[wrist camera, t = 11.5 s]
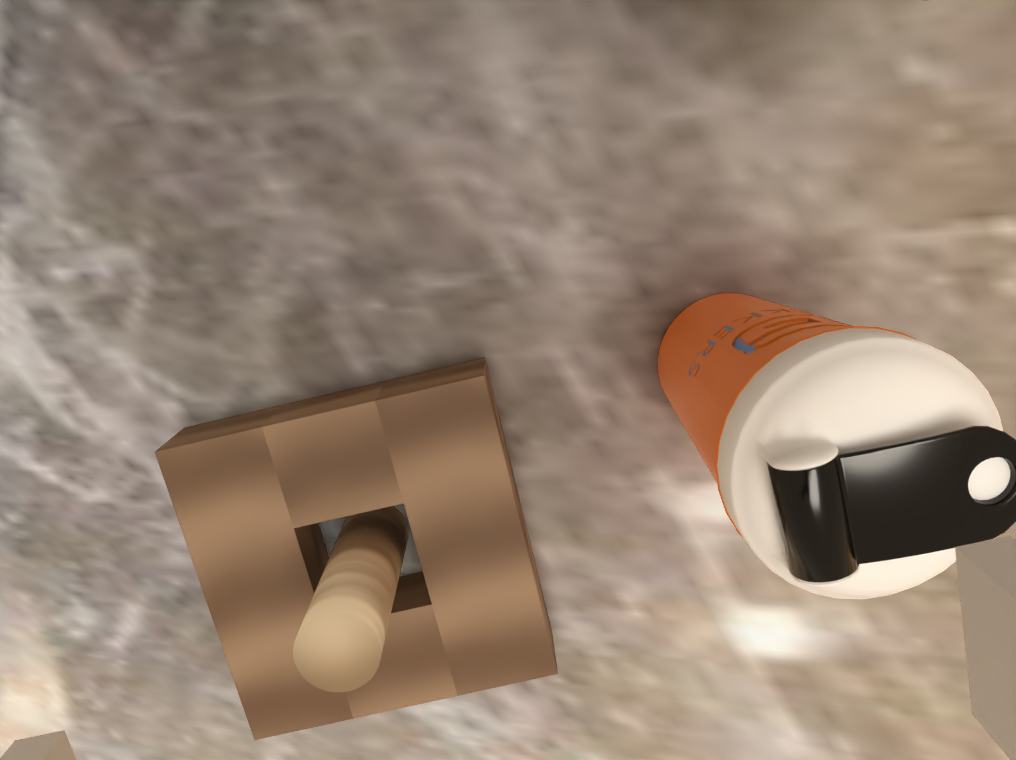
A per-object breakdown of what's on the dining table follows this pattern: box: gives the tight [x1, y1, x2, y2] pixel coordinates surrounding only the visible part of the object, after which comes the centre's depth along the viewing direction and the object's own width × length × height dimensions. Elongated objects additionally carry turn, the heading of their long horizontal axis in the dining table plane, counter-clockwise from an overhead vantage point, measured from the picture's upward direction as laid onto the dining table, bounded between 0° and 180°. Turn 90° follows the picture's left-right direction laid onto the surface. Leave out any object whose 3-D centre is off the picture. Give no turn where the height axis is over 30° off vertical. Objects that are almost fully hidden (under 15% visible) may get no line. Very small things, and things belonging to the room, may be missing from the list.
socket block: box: [155, 358, 558, 740], centre depth 44 cm, size 16×16×4 cm
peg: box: [293, 506, 408, 692], centre depth 40 cm, size 4×4×12 cm
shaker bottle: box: [658, 293, 1016, 599], centre depth 35 cm, size 9×9×20 cm
